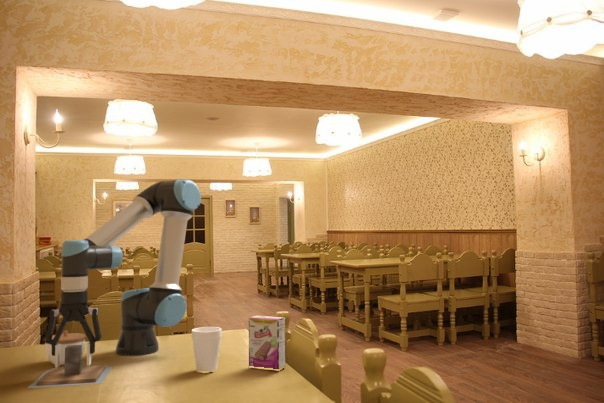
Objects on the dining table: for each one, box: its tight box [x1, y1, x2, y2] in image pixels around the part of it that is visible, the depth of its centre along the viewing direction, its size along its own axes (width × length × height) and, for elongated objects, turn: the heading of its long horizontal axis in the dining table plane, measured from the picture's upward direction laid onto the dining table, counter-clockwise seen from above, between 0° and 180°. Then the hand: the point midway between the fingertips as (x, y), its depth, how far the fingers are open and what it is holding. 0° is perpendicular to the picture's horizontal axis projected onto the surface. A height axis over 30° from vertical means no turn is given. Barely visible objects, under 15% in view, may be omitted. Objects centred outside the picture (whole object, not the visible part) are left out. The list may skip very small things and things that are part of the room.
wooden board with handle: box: [37, 345, 107, 386], centre depth 159 cm, size 16×16×9 cm
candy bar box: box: [248, 315, 286, 369], centre depth 168 cm, size 11×5×16 cm, turn 65°
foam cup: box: [191, 326, 223, 372], centre depth 166 cm, size 10×9×13 cm
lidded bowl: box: [44, 330, 87, 366], centre depth 177 cm, size 13×13×11 cm
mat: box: [27, 366, 114, 389], centre depth 159 cm, size 20×20×1 cm
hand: (73, 365), depth 159 cm, fingers open, 8 cm apart
